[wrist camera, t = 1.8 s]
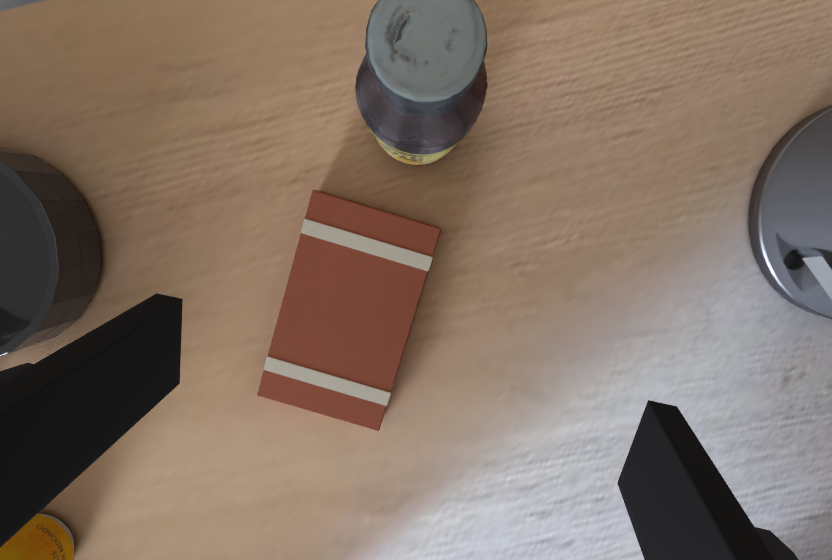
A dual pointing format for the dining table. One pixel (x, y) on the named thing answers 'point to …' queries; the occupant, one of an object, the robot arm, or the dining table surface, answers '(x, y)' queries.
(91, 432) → the robot arm
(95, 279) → the pan
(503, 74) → the dining table surface
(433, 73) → the sauce bottle
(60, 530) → the beer can
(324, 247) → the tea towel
